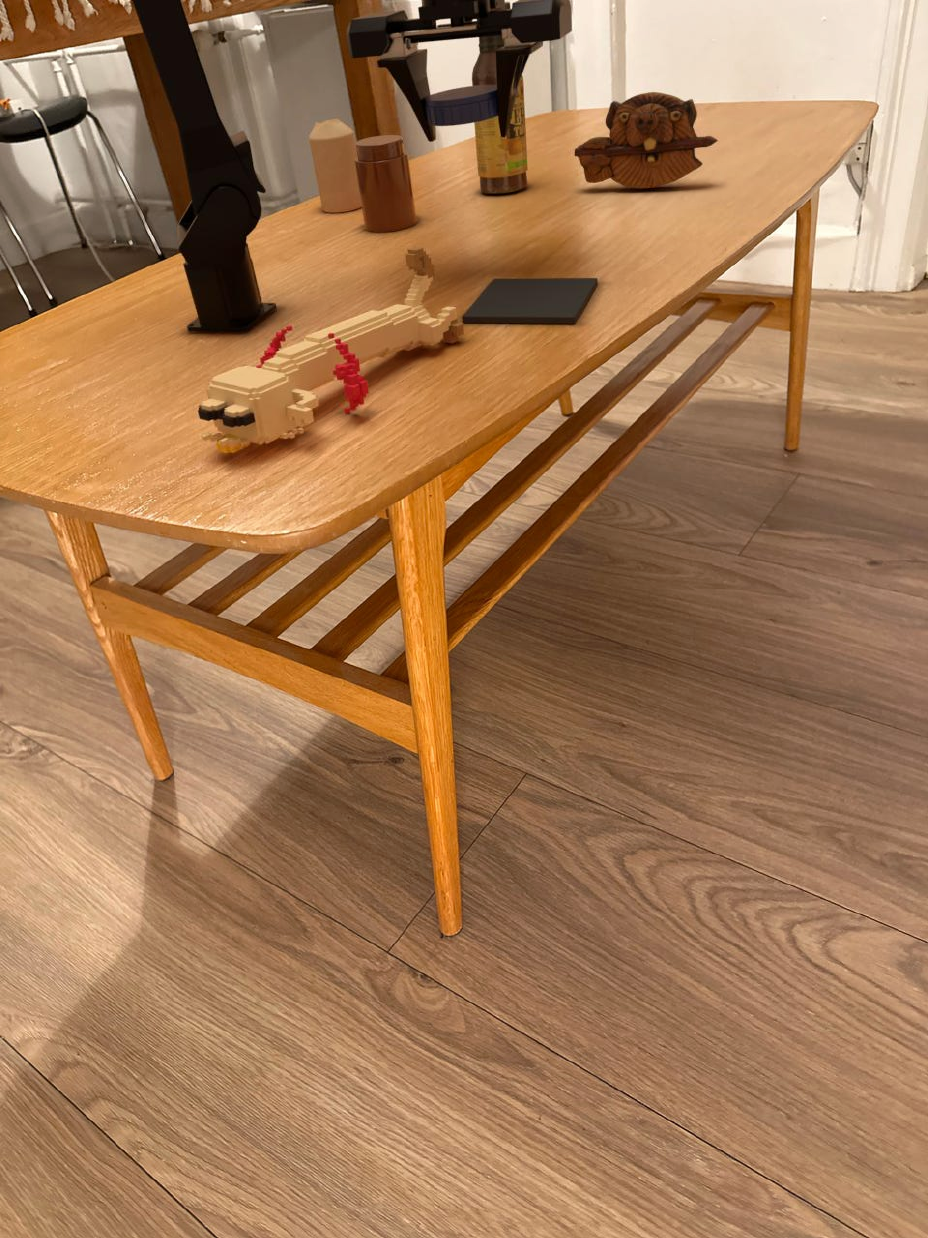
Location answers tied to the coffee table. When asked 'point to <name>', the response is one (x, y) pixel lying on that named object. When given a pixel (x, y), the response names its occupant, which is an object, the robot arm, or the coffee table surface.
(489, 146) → the sauce bottle
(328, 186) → the candle
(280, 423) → the voxel animal figurine
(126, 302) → the coffee table surface
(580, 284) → the mat
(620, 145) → the wooden carving
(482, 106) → the lid
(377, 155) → the jar
